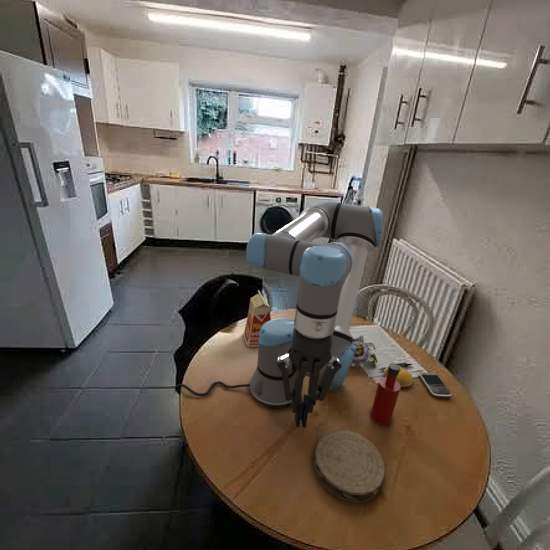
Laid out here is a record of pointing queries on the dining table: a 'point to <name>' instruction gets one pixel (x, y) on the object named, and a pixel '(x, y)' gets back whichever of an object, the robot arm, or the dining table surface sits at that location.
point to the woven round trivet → (349, 465)
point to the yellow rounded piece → (402, 377)
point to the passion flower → (363, 352)
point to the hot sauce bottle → (386, 396)
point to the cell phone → (435, 385)
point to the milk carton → (256, 319)
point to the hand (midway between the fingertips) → (300, 422)
